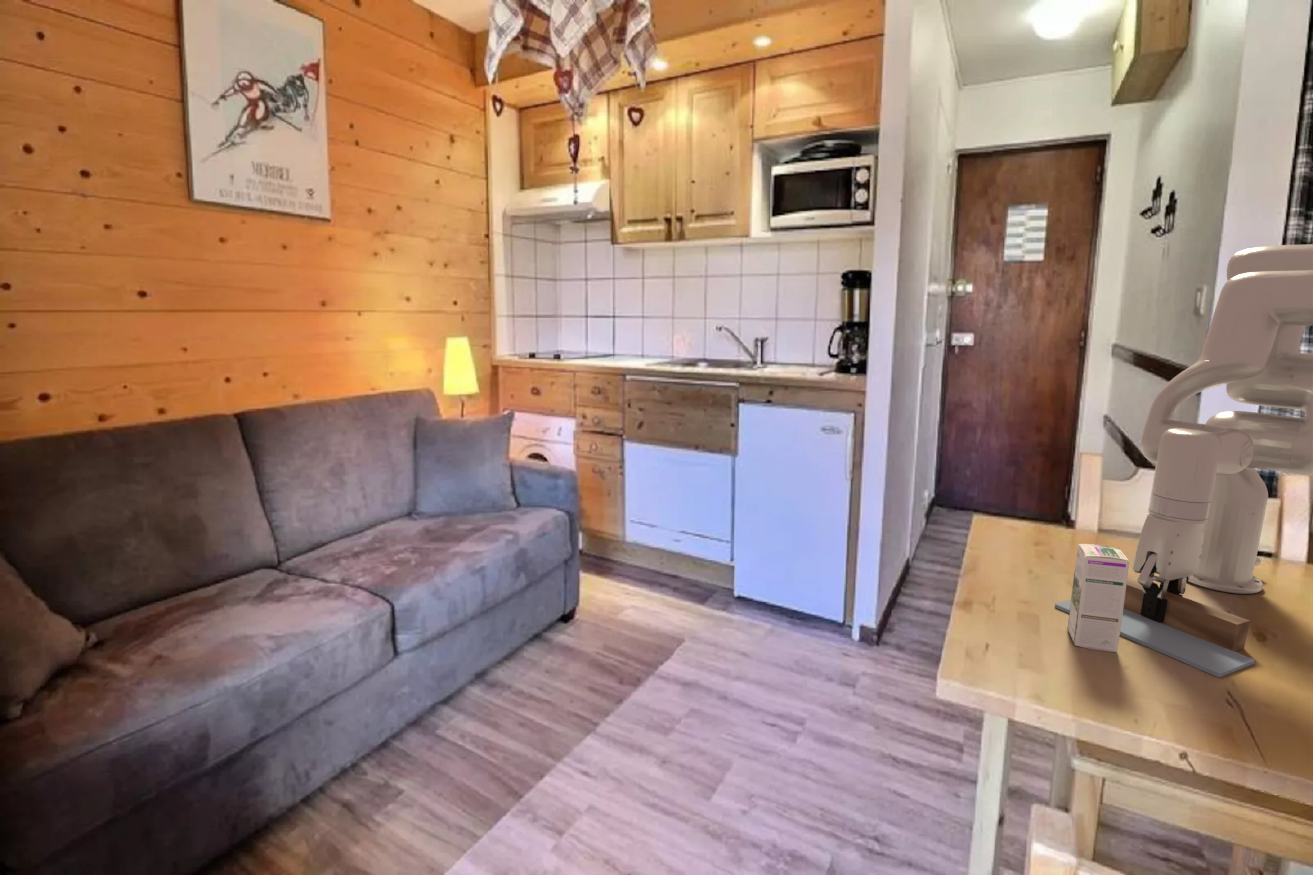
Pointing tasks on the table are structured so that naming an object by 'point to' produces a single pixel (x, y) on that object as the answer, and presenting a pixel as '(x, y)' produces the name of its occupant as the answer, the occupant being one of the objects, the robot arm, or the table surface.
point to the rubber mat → (1178, 644)
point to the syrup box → (1098, 597)
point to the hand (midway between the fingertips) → (1159, 615)
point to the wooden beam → (1194, 618)
